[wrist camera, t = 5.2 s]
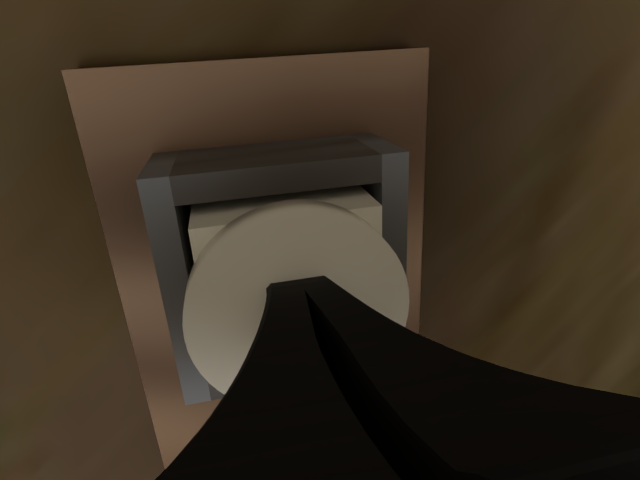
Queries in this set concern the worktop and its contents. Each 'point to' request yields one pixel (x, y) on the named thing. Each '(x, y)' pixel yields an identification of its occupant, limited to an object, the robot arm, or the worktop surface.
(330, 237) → the knob
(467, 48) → the worktop surface
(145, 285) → the knob backing plate
